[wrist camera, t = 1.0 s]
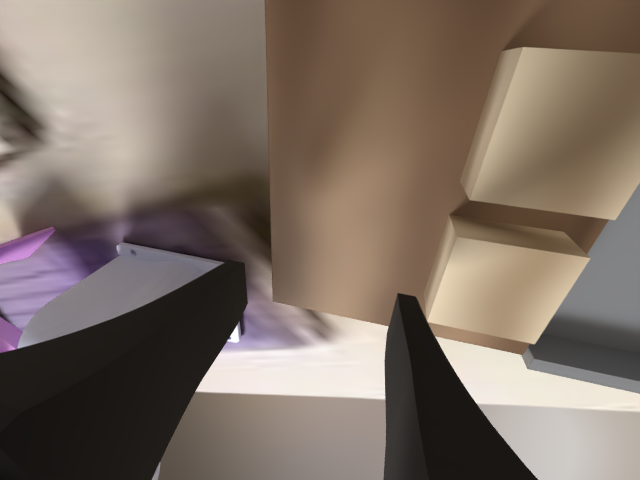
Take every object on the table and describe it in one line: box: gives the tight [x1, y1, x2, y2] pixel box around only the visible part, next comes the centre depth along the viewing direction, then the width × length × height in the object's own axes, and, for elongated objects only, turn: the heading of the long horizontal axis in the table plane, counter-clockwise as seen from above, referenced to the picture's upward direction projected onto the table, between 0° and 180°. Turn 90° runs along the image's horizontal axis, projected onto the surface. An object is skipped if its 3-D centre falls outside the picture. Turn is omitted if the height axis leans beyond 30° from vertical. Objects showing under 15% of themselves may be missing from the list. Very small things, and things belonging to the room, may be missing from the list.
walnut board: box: [265, 0, 640, 355], centre depth 14 cm, size 14×16×3 cm
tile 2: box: [460, 47, 640, 220], centre depth 10 cm, size 4×4×2 cm
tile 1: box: [424, 215, 590, 344], centre depth 13 cm, size 4×4×2 cm
